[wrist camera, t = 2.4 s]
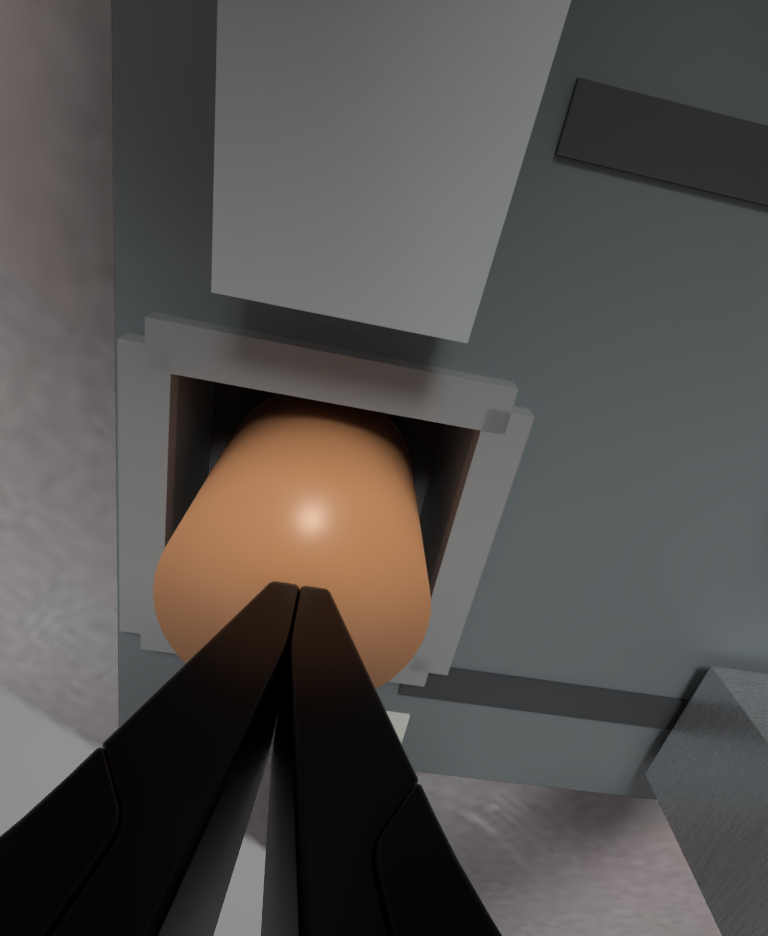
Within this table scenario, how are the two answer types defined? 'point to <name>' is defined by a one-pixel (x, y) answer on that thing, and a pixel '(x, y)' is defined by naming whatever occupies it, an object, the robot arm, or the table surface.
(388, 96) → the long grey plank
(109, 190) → the table surface
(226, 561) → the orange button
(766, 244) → the panel
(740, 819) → the grey slider
